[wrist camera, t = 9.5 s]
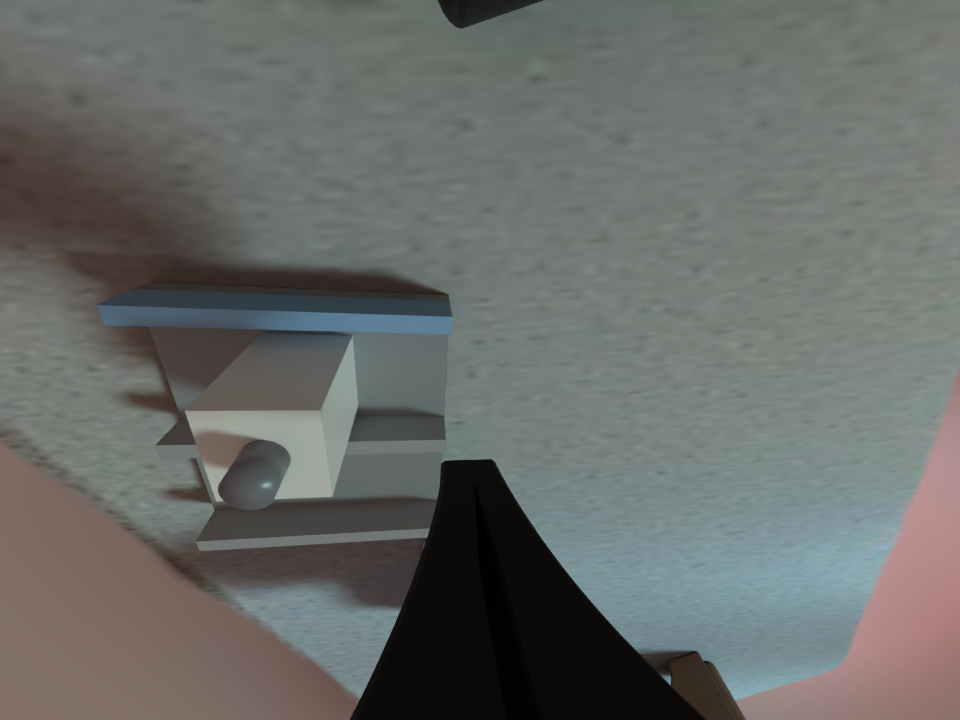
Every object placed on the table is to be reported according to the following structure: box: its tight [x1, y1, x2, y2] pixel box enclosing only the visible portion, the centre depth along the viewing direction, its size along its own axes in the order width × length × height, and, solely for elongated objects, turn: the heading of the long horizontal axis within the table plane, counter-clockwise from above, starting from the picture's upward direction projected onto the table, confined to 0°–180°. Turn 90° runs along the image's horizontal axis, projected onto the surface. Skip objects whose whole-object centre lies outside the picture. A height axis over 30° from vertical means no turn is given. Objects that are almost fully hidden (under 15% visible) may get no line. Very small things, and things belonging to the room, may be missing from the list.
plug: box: [185, 333, 358, 510], centre depth 15 cm, size 4×4×8 cm
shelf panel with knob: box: [96, 282, 452, 551], centre depth 19 cm, size 14×13×3 cm
